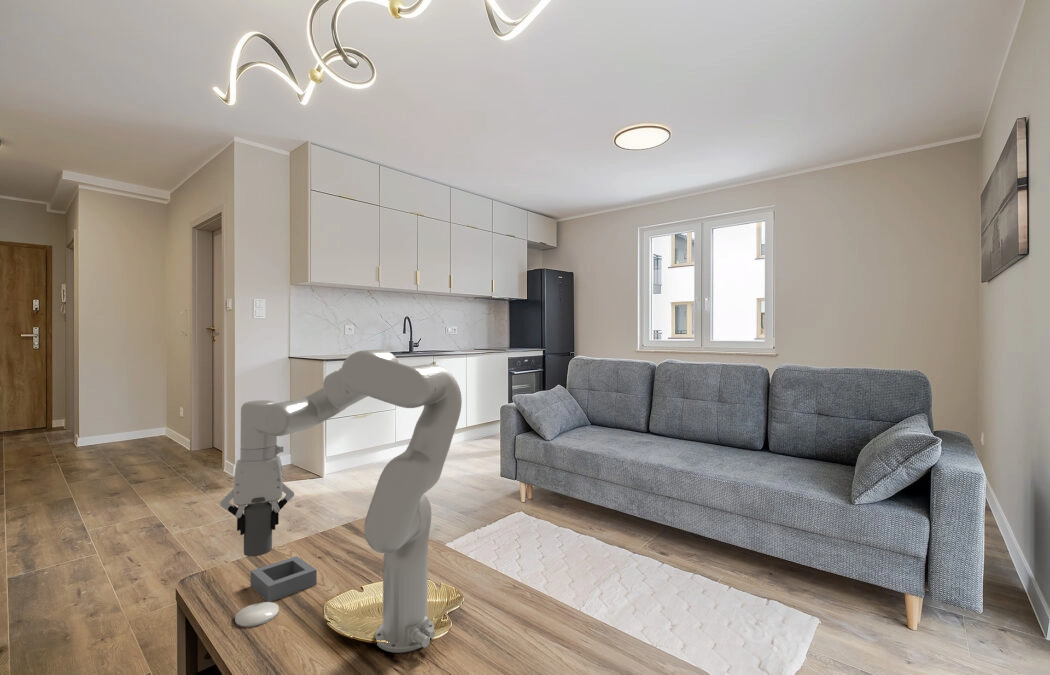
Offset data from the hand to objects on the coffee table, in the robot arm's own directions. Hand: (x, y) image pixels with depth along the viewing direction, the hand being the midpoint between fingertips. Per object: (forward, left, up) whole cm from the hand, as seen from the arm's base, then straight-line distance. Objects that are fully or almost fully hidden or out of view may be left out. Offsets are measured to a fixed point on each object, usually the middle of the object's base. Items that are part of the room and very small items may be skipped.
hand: (258, 529), depth 115 cm
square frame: (+10, -10, -20) cm, 25 cm away
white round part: (0, 0, -20) cm, 20 cm away
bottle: (0, 0, -5) cm, 5 cm away
